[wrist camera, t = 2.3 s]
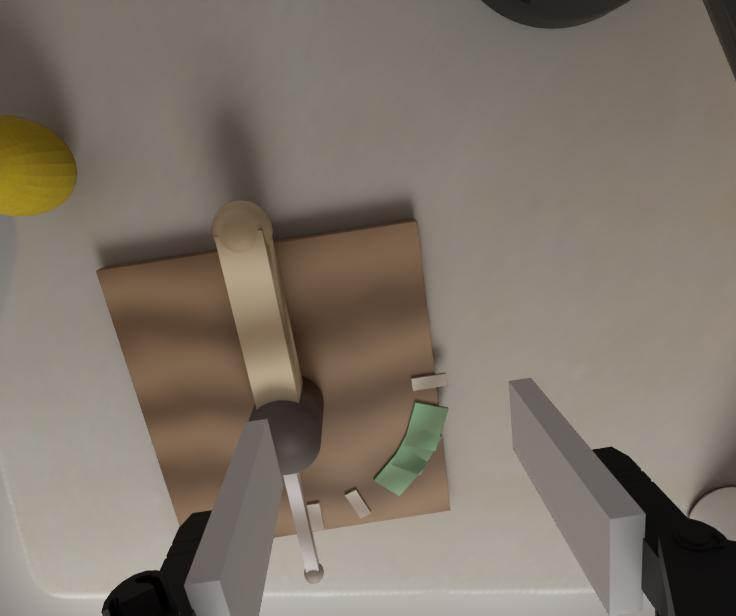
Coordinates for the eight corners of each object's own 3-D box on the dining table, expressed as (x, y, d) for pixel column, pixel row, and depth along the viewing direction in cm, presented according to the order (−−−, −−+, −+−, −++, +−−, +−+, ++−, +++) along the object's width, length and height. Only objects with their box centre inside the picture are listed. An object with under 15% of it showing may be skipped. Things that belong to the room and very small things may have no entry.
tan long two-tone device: (206, 202, 31) (180, 211, 26) (282, 191, 31) (270, 197, 26) (288, 537, 39) (280, 593, 34) (349, 528, 39) (349, 583, 34)
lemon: (49, 102, 30) (-50, 83, 23) (117, 171, 32) (46, 175, 24) (-6, 161, 31) (-119, 162, 24) (62, 225, 33) (-24, 246, 25)
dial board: (104, 267, 34) (94, 271, 32) (425, 217, 34) (429, 219, 32) (192, 539, 41) (187, 552, 40) (456, 498, 41) (460, 510, 40)
